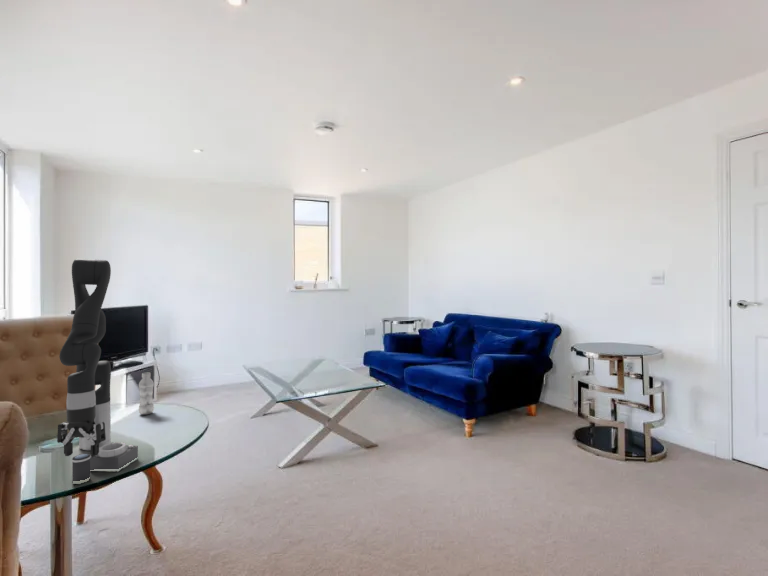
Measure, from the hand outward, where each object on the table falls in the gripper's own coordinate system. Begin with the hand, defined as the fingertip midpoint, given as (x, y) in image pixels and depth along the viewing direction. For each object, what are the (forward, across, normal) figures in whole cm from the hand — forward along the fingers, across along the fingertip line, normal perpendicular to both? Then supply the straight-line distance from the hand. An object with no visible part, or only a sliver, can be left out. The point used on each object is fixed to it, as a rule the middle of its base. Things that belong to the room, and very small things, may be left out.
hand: (81, 455), depth 129 cm
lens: (+8, 0, 0) cm, 9 cm away
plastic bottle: (+8, -22, +65) cm, 69 cm away
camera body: (+8, +2, +12) cm, 15 cm away
